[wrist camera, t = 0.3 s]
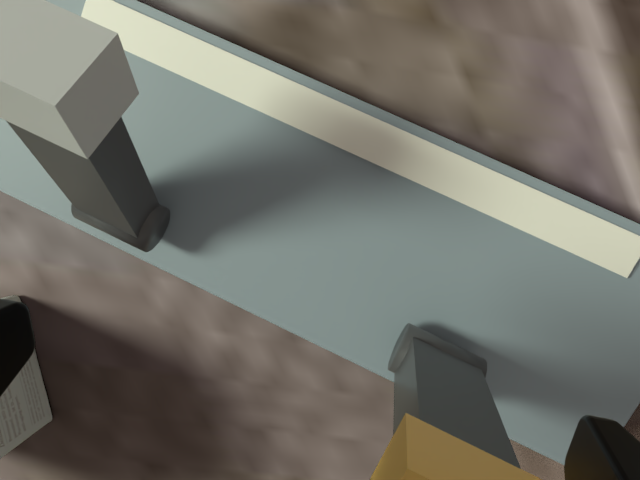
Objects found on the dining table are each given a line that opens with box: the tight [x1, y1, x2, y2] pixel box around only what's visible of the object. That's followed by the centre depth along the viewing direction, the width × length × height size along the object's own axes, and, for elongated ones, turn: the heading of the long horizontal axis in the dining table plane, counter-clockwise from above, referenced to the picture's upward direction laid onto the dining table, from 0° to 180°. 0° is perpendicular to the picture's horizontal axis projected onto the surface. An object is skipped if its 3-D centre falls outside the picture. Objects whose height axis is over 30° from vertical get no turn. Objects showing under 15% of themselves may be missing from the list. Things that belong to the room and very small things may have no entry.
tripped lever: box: [370, 323, 542, 480], centre depth 15 cm, size 2×4×11 cm, turn 66°
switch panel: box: [0, 0, 640, 465], centre depth 22 cm, size 10×30×3 cm, turn 66°
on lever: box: [0, 0, 170, 252], centre depth 16 cm, size 2×4×11 cm
